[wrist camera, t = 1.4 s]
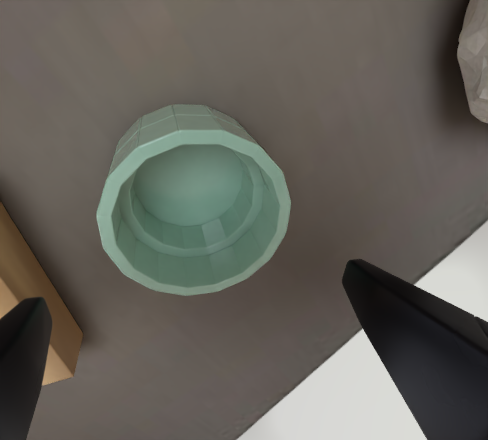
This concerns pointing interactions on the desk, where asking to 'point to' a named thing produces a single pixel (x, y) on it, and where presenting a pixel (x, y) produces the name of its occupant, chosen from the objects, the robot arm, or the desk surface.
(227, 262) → the bowl
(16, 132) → the desk surface
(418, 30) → the desk surface
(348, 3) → the desk surface
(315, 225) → the desk surface
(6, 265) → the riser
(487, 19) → the fossil replica
